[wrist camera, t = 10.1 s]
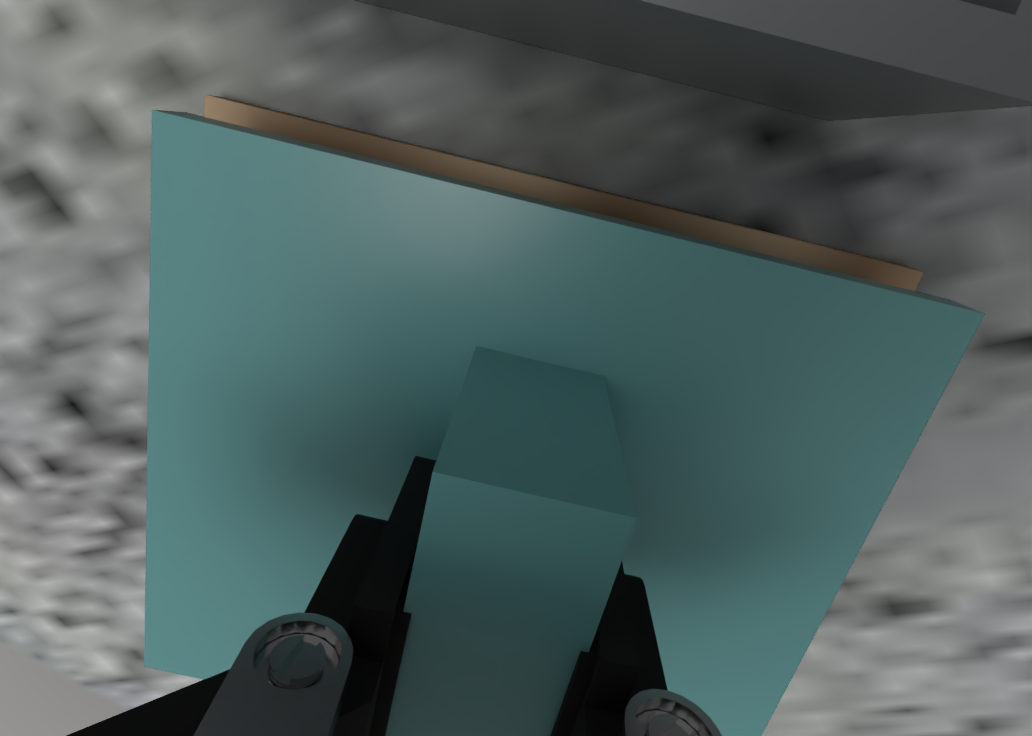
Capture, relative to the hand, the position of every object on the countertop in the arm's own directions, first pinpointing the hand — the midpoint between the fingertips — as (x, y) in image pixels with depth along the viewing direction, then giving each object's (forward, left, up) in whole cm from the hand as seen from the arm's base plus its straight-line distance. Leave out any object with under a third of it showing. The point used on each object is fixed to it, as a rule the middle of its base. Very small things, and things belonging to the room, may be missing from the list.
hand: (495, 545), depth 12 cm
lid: (0, 0, -2) cm, 2 cm away
